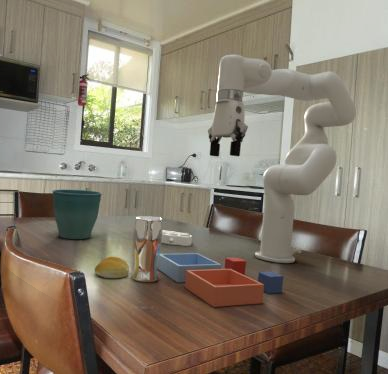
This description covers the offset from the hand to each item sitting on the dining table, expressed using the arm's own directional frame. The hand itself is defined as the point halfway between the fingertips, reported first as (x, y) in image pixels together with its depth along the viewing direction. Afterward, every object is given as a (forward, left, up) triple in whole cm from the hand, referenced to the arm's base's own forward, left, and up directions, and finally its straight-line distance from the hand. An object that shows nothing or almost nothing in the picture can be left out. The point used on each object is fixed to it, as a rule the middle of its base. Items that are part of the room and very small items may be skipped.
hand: (224, 155), depth 111 cm
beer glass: (+28, +12, -33) cm, 45 cm away
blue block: (+1, +25, -33) cm, 41 cm away
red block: (+1, +11, -33) cm, 34 cm away
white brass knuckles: (0, -32, -33) cm, 46 cm away
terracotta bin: (+15, +26, -33) cm, 45 cm away
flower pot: (+35, -41, -33) cm, 63 cm away
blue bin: (+15, +10, -33) cm, 37 cm away
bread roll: (+35, +7, -33) cm, 49 cm away
